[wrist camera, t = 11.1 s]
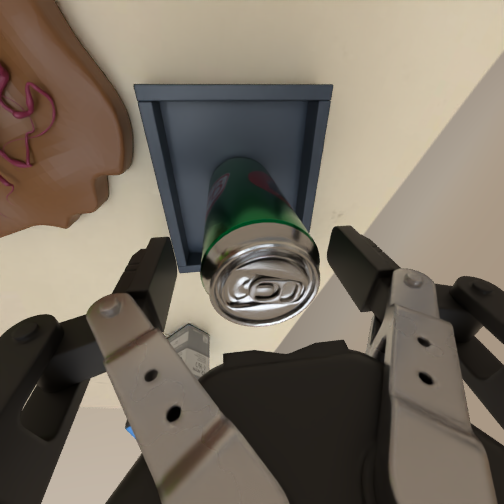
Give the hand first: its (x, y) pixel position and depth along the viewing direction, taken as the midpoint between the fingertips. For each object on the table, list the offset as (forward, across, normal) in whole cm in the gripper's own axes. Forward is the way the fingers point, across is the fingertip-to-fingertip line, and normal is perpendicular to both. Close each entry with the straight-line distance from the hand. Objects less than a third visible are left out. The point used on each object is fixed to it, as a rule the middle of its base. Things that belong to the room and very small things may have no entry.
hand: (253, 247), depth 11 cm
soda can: (+9, 0, 0) cm, 9 cm away
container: (+9, 0, 0) cm, 9 cm away
